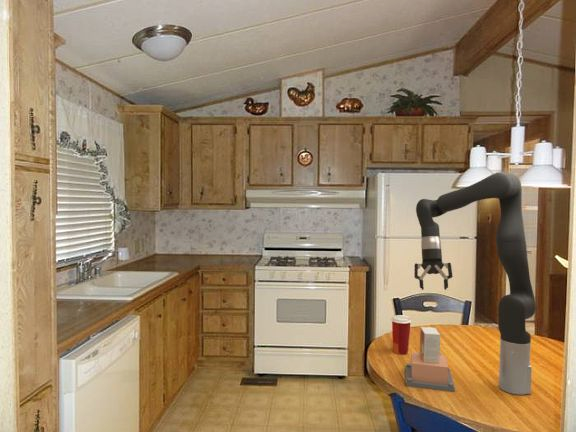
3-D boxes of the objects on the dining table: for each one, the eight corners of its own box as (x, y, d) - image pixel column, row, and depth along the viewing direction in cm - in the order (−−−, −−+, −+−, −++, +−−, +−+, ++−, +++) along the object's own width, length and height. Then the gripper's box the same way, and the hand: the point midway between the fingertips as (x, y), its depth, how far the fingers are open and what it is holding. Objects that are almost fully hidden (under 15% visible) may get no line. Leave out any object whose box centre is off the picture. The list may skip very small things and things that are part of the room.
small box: (419, 354, 162) (420, 326, 162) (435, 355, 161) (435, 327, 161) (423, 362, 154) (424, 333, 154) (439, 363, 153) (440, 334, 153)
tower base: (449, 373, 164) (450, 353, 163) (454, 391, 148) (455, 370, 148) (405, 368, 168) (405, 349, 167) (405, 386, 152) (406, 364, 152)
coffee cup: (412, 351, 187) (413, 316, 186) (407, 357, 180) (408, 321, 179) (393, 347, 191) (394, 313, 191) (387, 353, 184) (388, 318, 183)
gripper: (413, 248, 173) (415, 289, 170) (451, 247, 169) (454, 289, 167) (412, 250, 180) (415, 289, 177) (449, 248, 177) (452, 289, 174)
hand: (434, 289), depth 172 cm, fingers open, 8 cm apart
